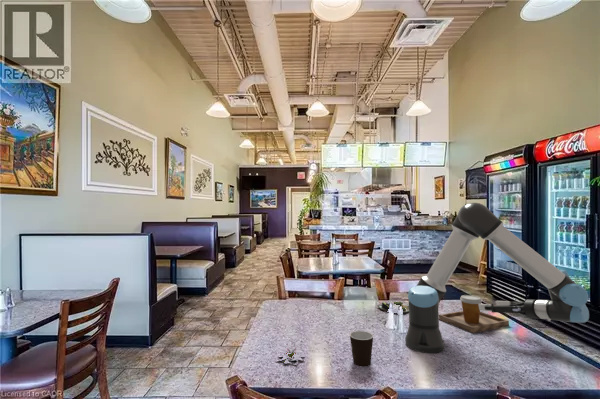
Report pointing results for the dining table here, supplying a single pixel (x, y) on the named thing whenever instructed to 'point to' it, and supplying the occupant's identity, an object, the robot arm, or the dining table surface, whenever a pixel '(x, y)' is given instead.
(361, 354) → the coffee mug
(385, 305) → the salad plate
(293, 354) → the lily flower
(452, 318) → the serving tray
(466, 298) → the disposable coffee cup
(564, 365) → the dining table surface
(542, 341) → the dining table surface
